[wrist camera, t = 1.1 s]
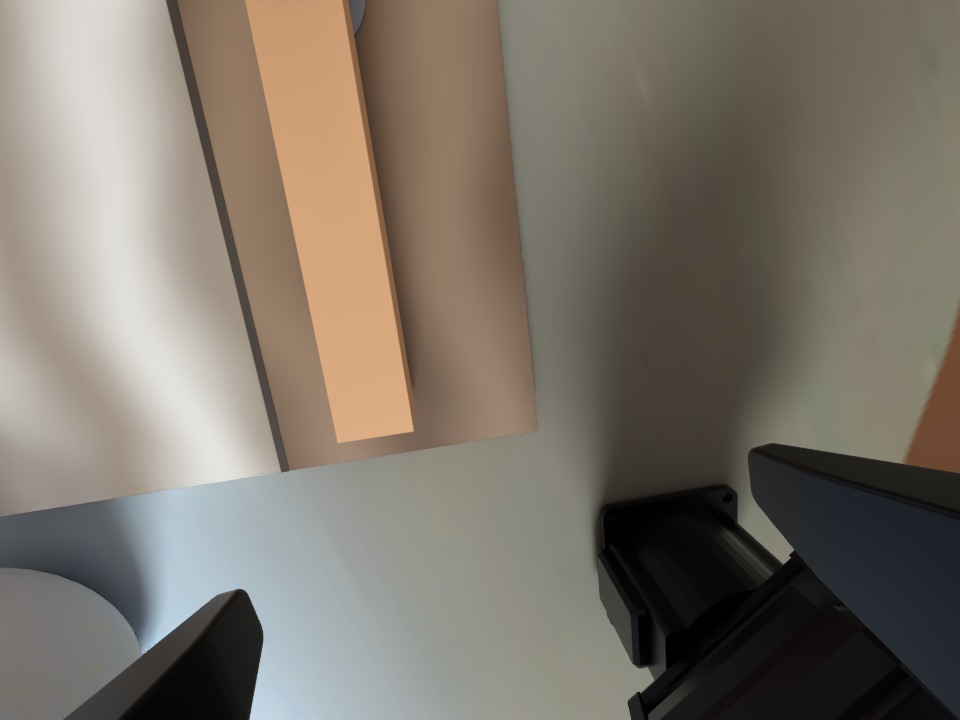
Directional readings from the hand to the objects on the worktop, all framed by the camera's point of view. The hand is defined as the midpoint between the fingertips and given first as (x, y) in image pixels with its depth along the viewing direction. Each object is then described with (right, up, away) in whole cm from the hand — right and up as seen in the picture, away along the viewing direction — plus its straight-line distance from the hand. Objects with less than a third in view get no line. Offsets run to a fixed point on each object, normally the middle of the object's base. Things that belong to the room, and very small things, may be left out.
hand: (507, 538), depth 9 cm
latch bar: (-5, +9, +8) cm, 13 cm away
